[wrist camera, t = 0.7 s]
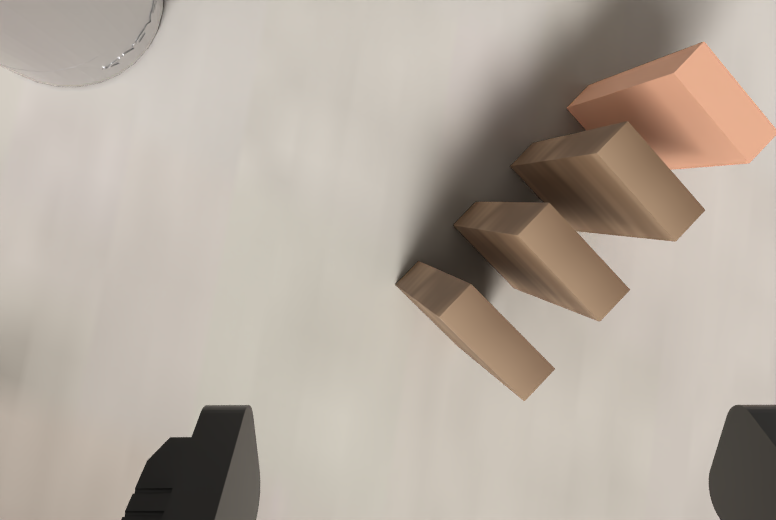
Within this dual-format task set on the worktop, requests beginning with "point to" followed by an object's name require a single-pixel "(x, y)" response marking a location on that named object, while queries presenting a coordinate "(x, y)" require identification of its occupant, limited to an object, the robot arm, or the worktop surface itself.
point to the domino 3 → (542, 255)
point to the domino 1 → (680, 110)
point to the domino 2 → (609, 184)
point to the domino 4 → (476, 328)
